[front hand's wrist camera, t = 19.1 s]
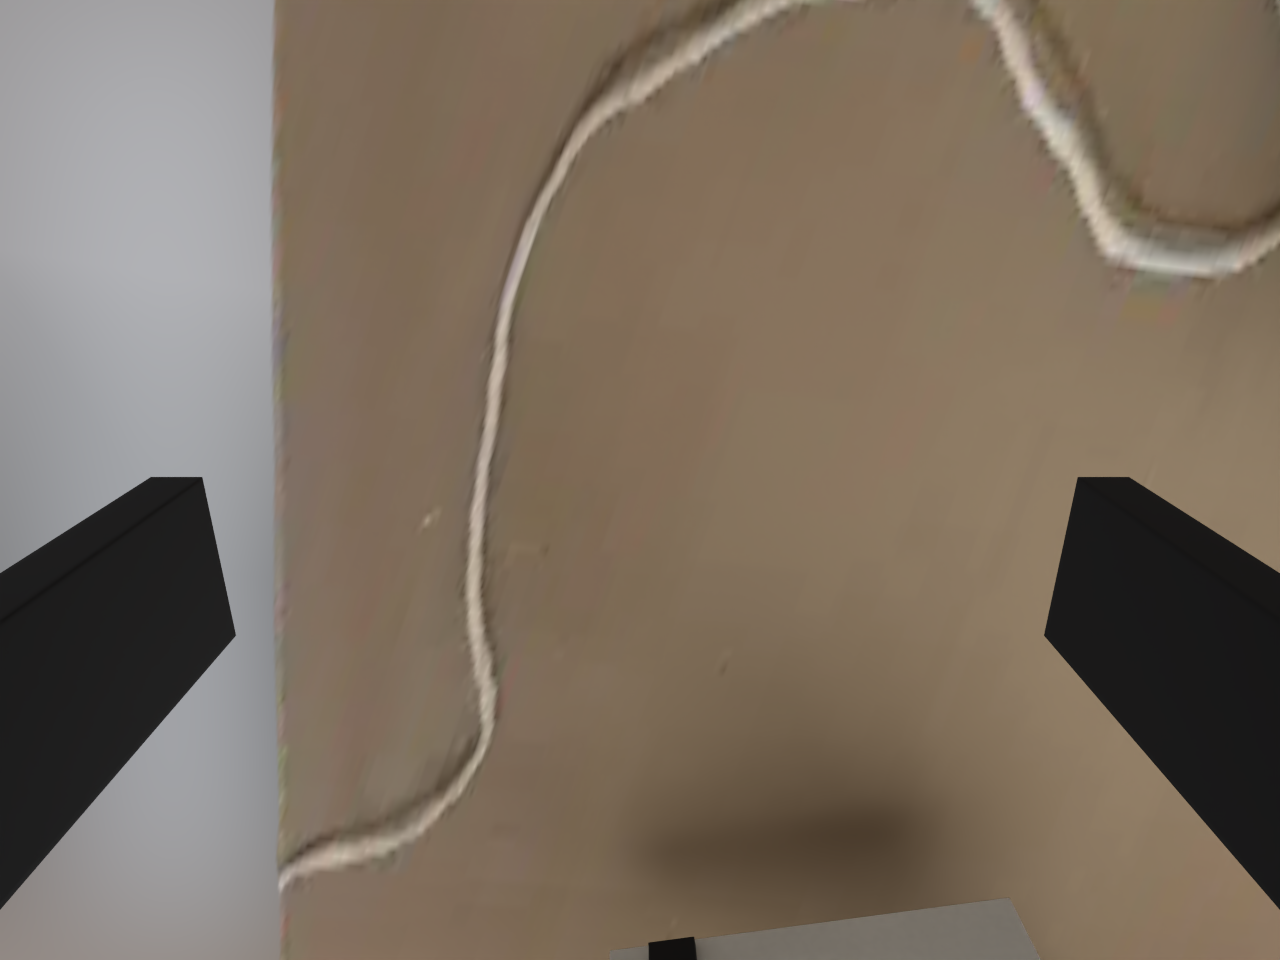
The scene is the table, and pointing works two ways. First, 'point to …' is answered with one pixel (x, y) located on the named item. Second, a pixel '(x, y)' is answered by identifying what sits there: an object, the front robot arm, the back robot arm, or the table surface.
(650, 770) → the table surface
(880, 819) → the table surface
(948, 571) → the table surface
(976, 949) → the box
